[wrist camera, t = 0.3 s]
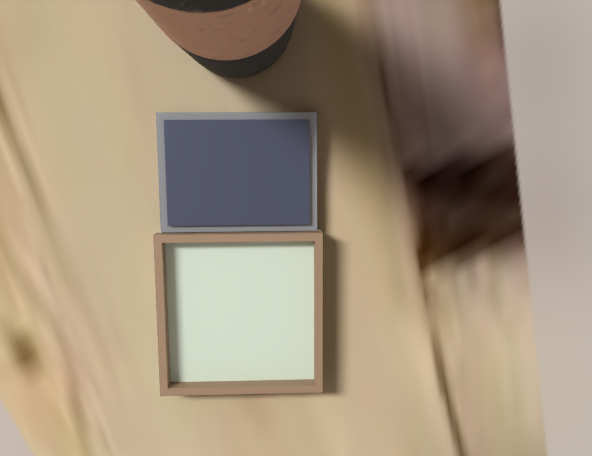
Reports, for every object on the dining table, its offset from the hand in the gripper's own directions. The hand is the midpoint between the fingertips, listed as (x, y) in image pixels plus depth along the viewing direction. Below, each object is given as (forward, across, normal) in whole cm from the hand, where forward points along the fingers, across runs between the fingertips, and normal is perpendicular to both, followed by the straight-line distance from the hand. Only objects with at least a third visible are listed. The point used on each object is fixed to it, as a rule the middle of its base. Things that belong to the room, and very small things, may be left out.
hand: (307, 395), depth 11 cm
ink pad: (+26, -4, 0) cm, 26 cm away
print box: (+25, -4, -9) cm, 26 cm away
